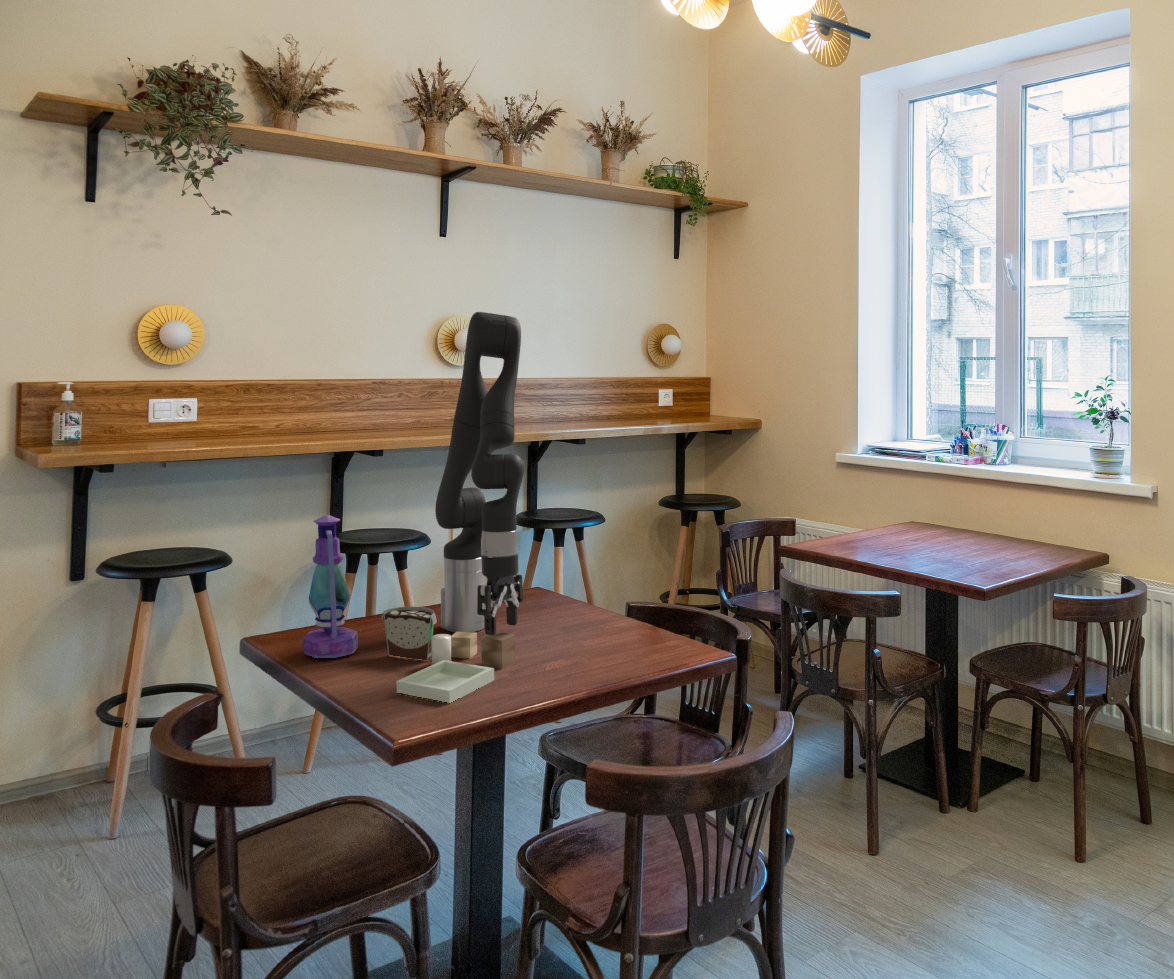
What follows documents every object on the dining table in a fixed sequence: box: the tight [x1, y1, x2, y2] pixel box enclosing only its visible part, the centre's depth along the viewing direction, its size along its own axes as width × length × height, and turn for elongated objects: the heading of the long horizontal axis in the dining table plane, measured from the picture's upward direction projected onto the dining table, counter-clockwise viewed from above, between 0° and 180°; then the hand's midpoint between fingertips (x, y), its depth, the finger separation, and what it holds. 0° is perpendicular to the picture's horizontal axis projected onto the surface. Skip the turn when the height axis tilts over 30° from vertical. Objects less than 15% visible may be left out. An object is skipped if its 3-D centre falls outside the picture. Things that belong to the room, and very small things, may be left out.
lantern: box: [302, 514, 359, 659], centre depth 201 cm, size 13×12×30 cm
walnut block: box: [480, 631, 516, 670], centre depth 195 cm, size 5×5×6 cm
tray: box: [396, 660, 495, 704], centre depth 181 cm, size 12×15×2 cm
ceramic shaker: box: [431, 633, 452, 665], centre depth 194 cm, size 4×4×6 cm
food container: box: [380, 606, 437, 661], centre depth 201 cm, size 12×6×10 cm, turn 71°
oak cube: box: [450, 632, 478, 660], centre depth 202 cm, size 4×4×4 cm
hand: (501, 629), depth 195 cm, fingers open, 8 cm apart
